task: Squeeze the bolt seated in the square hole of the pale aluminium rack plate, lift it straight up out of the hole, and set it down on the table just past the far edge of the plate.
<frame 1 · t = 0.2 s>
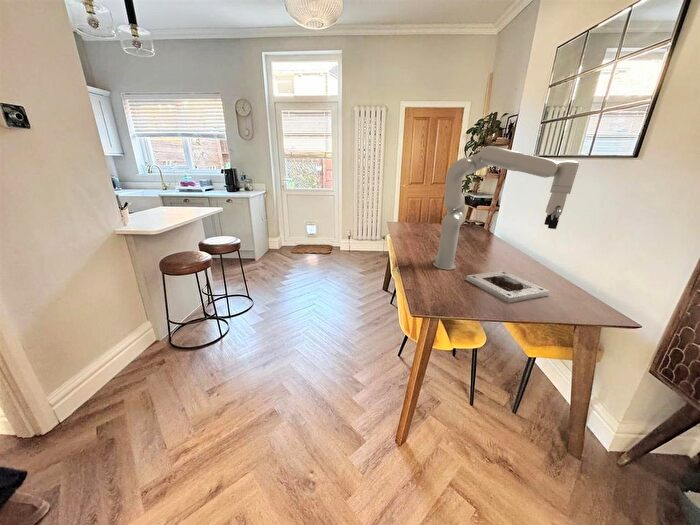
hand: (549, 226, 130), 31 cm above the table, tool pointing down, fingers open, 9 cm apart
bolt: (504, 288, 136), on the table
rack plate: (505, 287, 136), on the table
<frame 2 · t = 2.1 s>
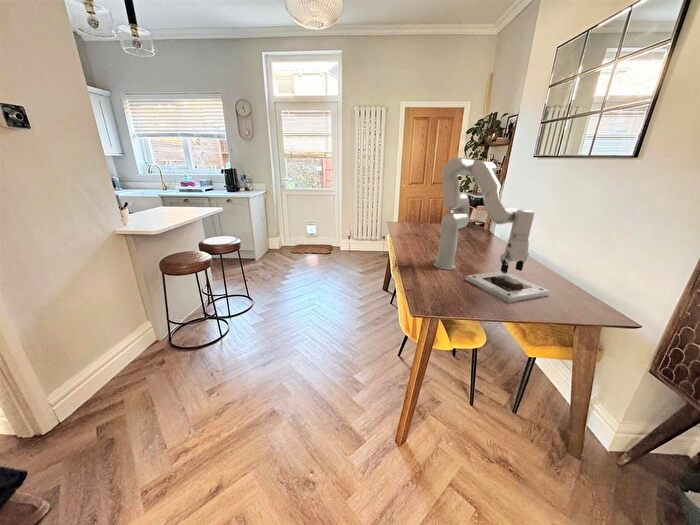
hand: (511, 270, 132), 9 cm above the table, tool pointing down, fingers open, 9 cm apart
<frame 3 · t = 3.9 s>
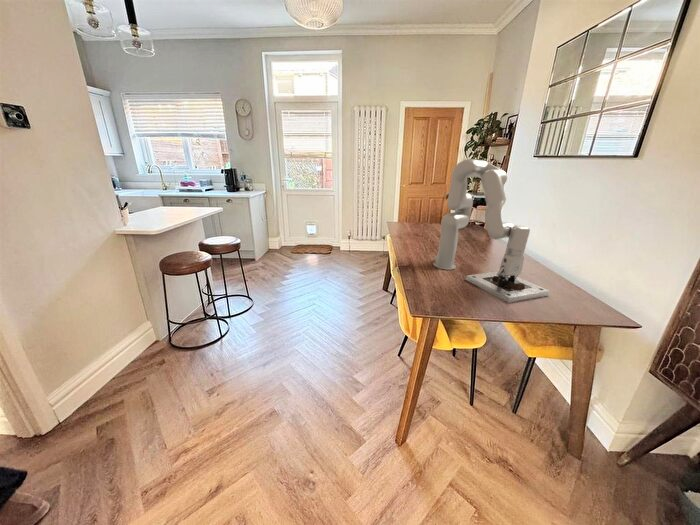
hand: (505, 286, 135), 1 cm above the table, tool pointing down, fingers closed on bolt, 5 cm apart
bolt: (505, 288, 136), on the table, touching gripper
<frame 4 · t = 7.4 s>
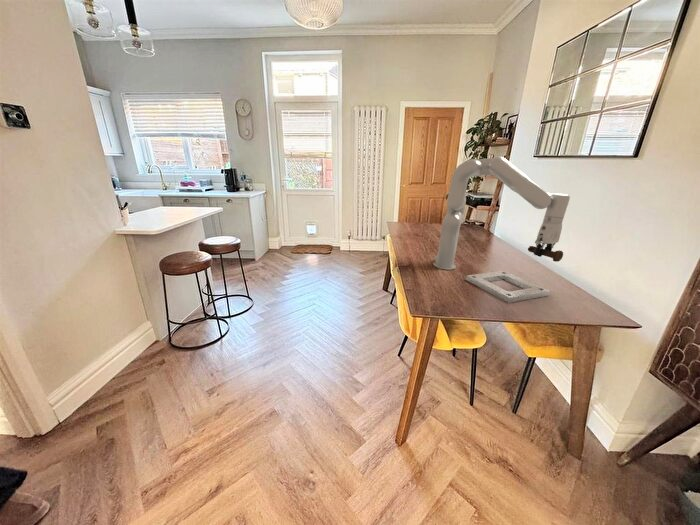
hand: (542, 255, 137), 15 cm above the table, tool pointing down, fingers closed on bolt, 5 cm apart
bolt: (542, 257, 137), point 15 cm above the table, touching gripper
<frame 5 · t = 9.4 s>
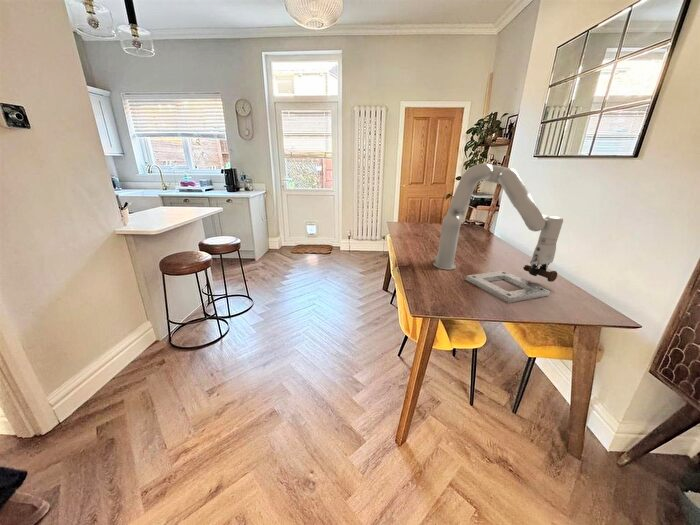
hand: (537, 274, 141), 5 cm above the table, tool pointing down, fingers closed on bolt, 5 cm apart
bolt: (537, 276, 141), point 4 cm above the table, touching gripper
when the fingers open (1 cm above the table, at t = 10.9 s): bolt moves 1 cm, on the table.
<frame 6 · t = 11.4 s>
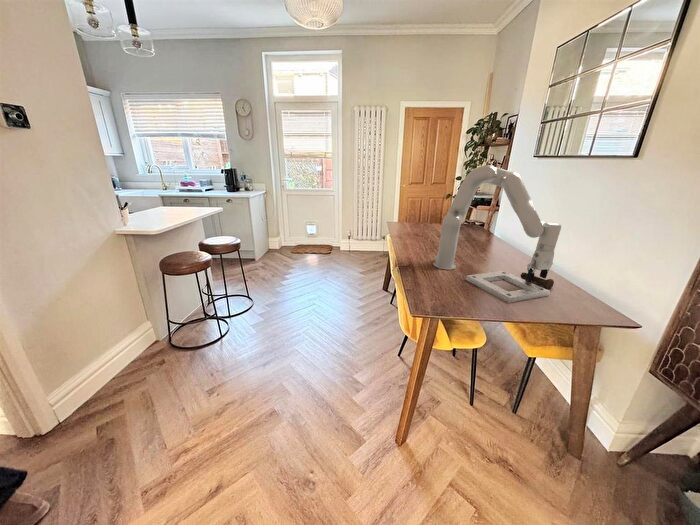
hand: (536, 278, 142), 3 cm above the table, tool pointing down, fingers open, 9 cm apart
bolt: (534, 283, 143), on the table
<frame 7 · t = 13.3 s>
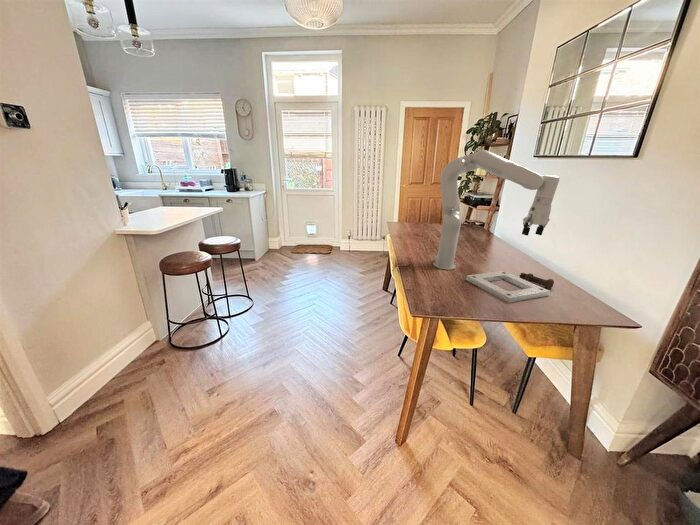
hand: (531, 234, 141), 24 cm above the table, tool pointing down, fingers open, 9 cm apart
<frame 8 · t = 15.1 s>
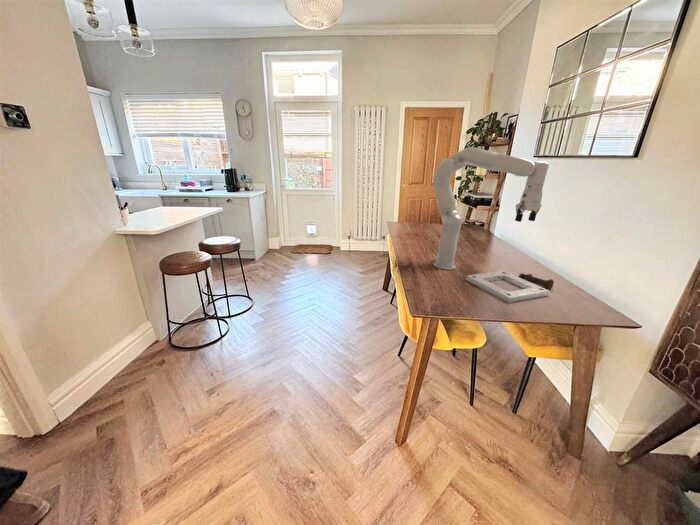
hand: (524, 220, 143), 30 cm above the table, tool pointing down, fingers open, 9 cm apart
at the end: bolt inside the target area (2.9 cm from its centre), on the table; bolt touching table; the gripper is holding nothing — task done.
